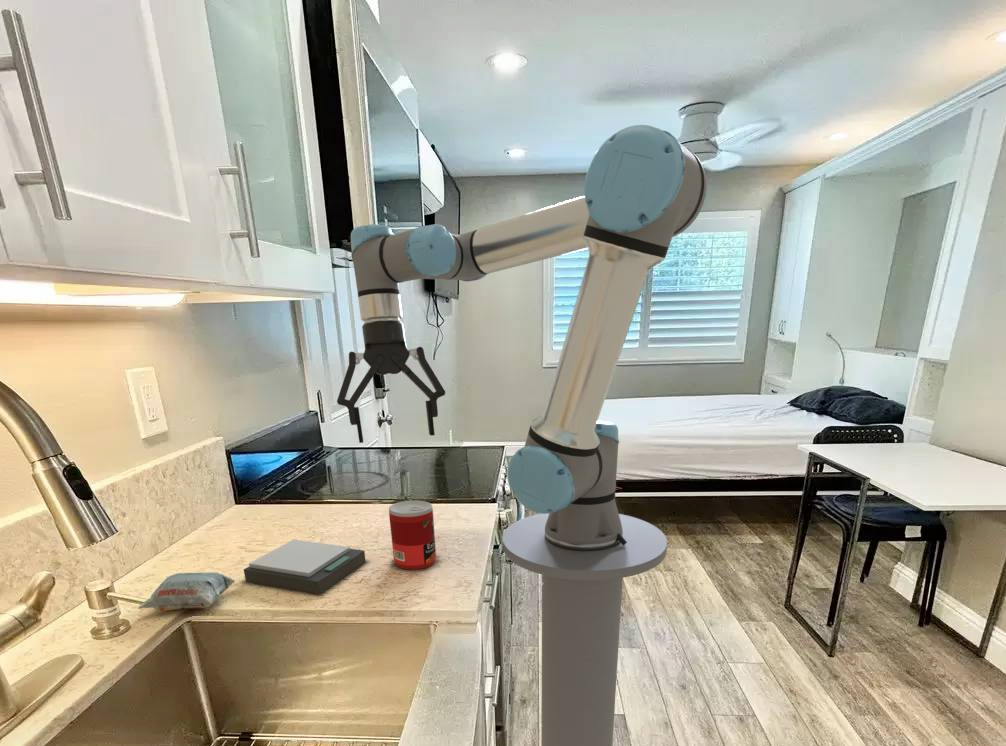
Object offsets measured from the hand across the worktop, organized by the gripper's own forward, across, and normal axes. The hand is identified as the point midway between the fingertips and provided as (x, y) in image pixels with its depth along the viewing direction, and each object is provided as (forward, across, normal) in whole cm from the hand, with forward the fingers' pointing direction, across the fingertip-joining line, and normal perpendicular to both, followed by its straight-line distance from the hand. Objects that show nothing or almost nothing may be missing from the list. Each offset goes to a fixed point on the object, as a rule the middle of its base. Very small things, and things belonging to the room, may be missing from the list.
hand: (397, 438), depth 110 cm
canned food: (+22, 0, +10) cm, 24 cm away
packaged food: (+22, +38, +16) cm, 47 cm away
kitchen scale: (+22, +20, +8) cm, 30 cm away
